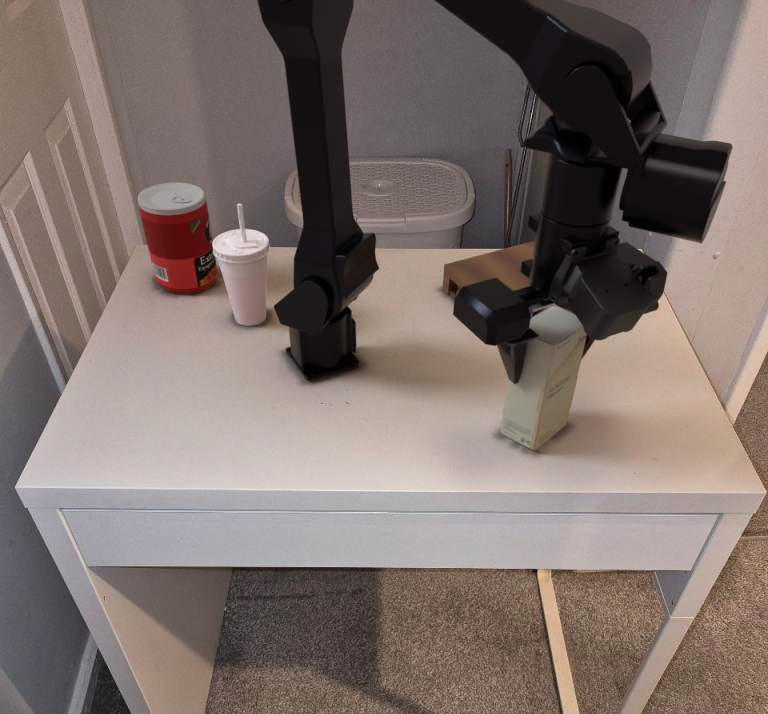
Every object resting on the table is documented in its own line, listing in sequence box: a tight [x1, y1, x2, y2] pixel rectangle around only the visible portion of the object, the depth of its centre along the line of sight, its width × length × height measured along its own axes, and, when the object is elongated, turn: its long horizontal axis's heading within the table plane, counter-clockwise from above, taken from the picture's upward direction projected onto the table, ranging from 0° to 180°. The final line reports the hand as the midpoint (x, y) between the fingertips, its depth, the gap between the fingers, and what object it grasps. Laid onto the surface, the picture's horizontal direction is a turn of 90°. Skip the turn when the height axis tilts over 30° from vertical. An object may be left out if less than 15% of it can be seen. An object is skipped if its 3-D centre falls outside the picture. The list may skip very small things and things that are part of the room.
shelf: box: [442, 240, 572, 318], centre depth 94 cm, size 14×12×4 cm
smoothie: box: [212, 203, 271, 327], centre depth 87 cm, size 6×6×14 cm
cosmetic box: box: [499, 305, 587, 451], centre depth 73 cm, size 6×4×12 cm
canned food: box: [137, 182, 219, 295], centre depth 94 cm, size 8×8×11 cm
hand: (544, 371), depth 73 cm, fingers closed on cosmetic box, 7 cm apart
